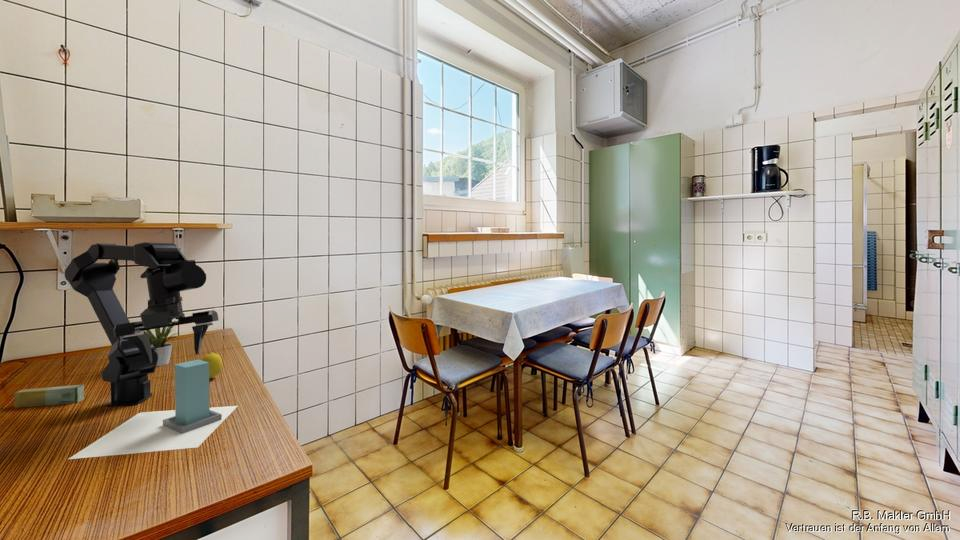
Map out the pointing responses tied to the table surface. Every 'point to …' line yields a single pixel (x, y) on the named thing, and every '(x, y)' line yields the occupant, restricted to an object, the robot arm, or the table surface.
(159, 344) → the house plant
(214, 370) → the lemon
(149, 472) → the table surface
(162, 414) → the baseplate
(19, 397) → the medication box
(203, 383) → the post
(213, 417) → the socket
